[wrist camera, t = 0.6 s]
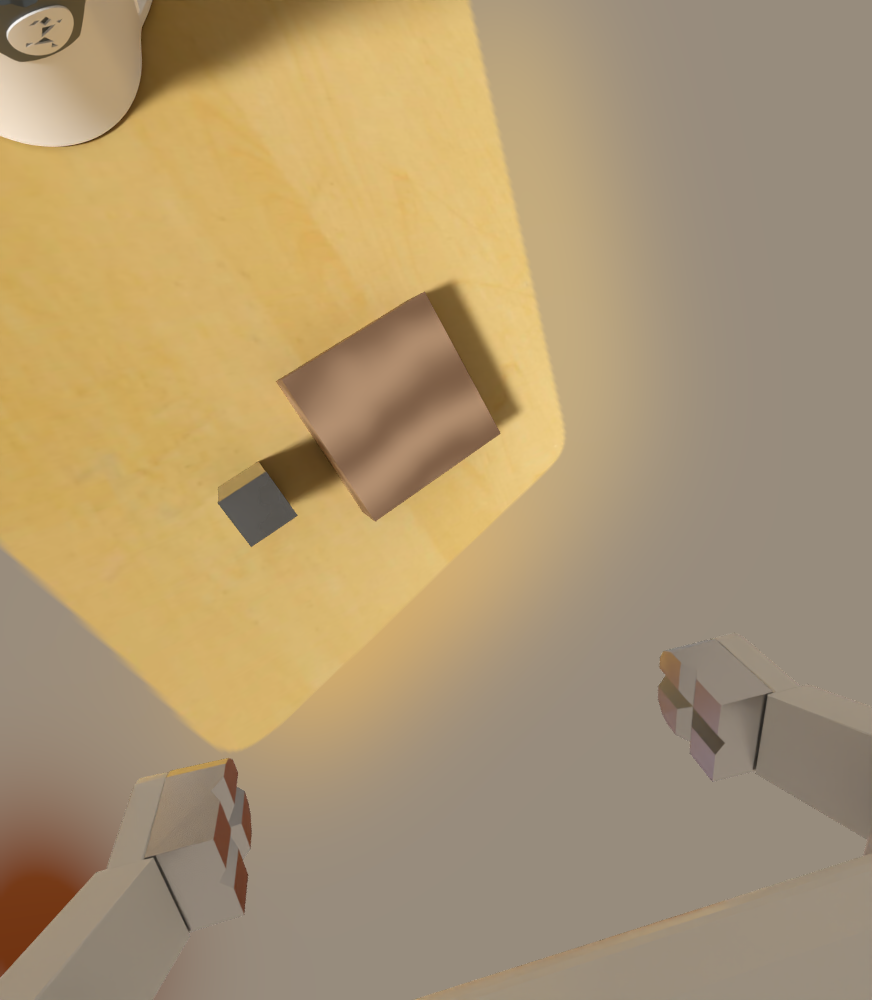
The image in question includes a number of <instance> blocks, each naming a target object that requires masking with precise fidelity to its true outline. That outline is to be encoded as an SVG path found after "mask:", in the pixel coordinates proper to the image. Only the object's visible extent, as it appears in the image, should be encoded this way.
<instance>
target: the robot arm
mask: <svg viewBox="0 0 872 1000" xmlns="http://www.w3.org/2000/svg"><path fill="white" fill-rule="evenodd" d="M151 4H152V0H0V136H2V137H5V138H8V139H11V140H14V141H18V142H21V143H26V144H31V145H37V146H50V147H55V146H69V145H75V144H79V143H83V142H86V141H89V140H91V139H94V138H96V137H98V136H100V135H102V134H104V133H105V132H107V131H108V130H110V129H111V128H112V127H113V126H115V125H116V124H117V123H118V122H119V121H120V120H121V119H122V117H123V116H124V115H125V114H126V112H127V111H128V109H129V108H130V106H131V104H132V102H133V100H134V98H135V96H136V93H137V90H138V87H139V83H140V78H141V69H142V52H141V30H142V26H143V24H144V21H145V19H146V17H147V14H148V12H149V9H150V7H151ZM659 668H660V669H661V671H662V672H663V673H664V674H665V677H664V678H663V680H662V681H661V683H660V684H659V685H658V702H659V705H660V709H661V712H662V715H663V717H664V719H665V721H666V722H667V724H668V726H669V727H670V728H671V729H672V731H673V732H674V734H675V735H677V736H679V737H681V738H683V739H685V740H687V741H689V742H690V754H691V755H692V757H693V758H694V759H695V761H696V762H697V763H698V764H699V766H700V767H701V768H702V769H703V771H704V772H705V773H706V774H707V776H708V777H709V778H710V780H711V781H712V782H714V781H718V780H722V779H726V778H730V777H734V776H738V775H742V774H746V773H750V772H754V771H756V773H755V774H757V775H759V776H760V777H762V778H764V779H765V780H767V781H769V782H770V783H772V784H774V785H776V786H777V787H779V788H781V789H782V790H784V791H786V792H787V793H789V794H791V795H792V796H794V797H796V798H797V799H799V800H801V801H803V802H804V803H806V804H808V805H809V806H811V807H813V808H814V809H816V810H818V811H819V812H821V813H823V814H824V815H826V816H828V817H829V818H831V819H833V820H835V821H836V822H838V823H840V824H841V825H843V826H845V827H847V828H848V829H850V830H851V831H853V832H855V833H856V834H858V835H860V836H862V837H863V838H865V839H867V843H866V847H865V851H864V854H863V856H862V857H859V858H856V859H853V860H850V861H846V862H843V863H840V864H837V865H834V866H831V867H828V868H824V869H821V870H818V871H815V872H812V873H809V874H806V875H803V876H799V877H796V878H793V879H790V880H787V881H784V882H780V883H777V884H774V885H771V886H768V887H765V888H762V889H759V890H755V891H753V892H749V893H746V894H743V895H740V896H737V897H734V898H730V899H727V900H724V901H721V902H718V903H715V904H712V905H708V906H706V907H703V908H699V909H696V910H693V911H690V912H687V913H684V914H680V915H677V916H674V917H671V918H668V919H665V920H662V921H659V922H655V923H653V924H649V925H646V926H643V927H640V928H637V929H633V930H631V931H627V932H624V933H621V934H618V935H615V936H612V937H609V938H605V939H602V940H599V941H596V942H593V943H590V944H586V945H583V946H580V947H577V948H574V949H571V950H568V951H565V952H561V953H558V954H555V955H552V956H549V957H546V958H543V959H539V960H536V961H533V962H530V963H527V964H524V965H521V966H517V967H514V968H511V969H508V970H505V971H502V972H499V973H496V974H492V975H490V976H486V977H483V978H480V979H477V980H474V981H470V982H467V983H464V984H461V985H458V986H455V987H452V988H449V989H445V990H442V991H439V992H436V993H433V994H430V995H427V996H423V997H420V998H417V999H414V1000H872V707H871V706H868V705H865V704H863V703H860V702H857V701H854V700H851V699H849V698H846V697H843V696H840V695H837V694H835V693H832V692H829V691H826V690H823V689H820V688H818V687H815V686H812V685H809V684H807V685H802V686H800V685H799V684H798V683H797V682H796V681H794V680H793V679H792V678H791V677H790V676H789V675H787V674H786V673H785V672H784V671H782V670H781V669H780V668H779V667H778V666H777V665H776V664H774V663H773V662H772V661H771V660H770V659H768V658H767V657H766V656H765V655H764V654H763V653H762V652H760V651H759V650H758V649H757V648H755V647H754V646H753V645H752V644H751V643H750V642H749V641H747V640H746V639H745V638H744V637H743V636H741V635H739V634H736V633H731V634H727V635H724V636H720V637H715V638H712V639H710V640H704V641H701V642H697V643H693V644H689V645H686V646H681V647H677V648H673V649H669V650H665V651H663V652H662V654H661V656H660V663H659ZM237 778H238V771H237V769H236V766H235V764H234V761H233V759H230V758H226V759H222V760H218V761H213V762H208V763H204V764H199V765H195V766H190V767H186V768H181V769H176V770H172V771H170V772H167V773H161V774H157V775H152V776H148V777H143V778H140V779H139V780H138V781H137V783H136V784H135V785H134V787H133V790H132V792H131V795H130V798H129V801H128V804H127V807H126V811H125V813H124V817H123V820H122V823H121V826H120V829H119V832H118V835H117V838H116V841H115V844H114V847H113V850H112V853H111V856H110V860H109V863H108V865H107V868H106V870H104V871H100V872H96V873H95V874H94V875H93V877H92V878H91V879H90V880H89V881H88V882H87V883H86V884H85V885H84V887H83V888H82V889H81V890H80V891H79V892H78V893H77V894H76V895H75V896H74V898H73V899H72V900H71V901H70V902H69V903H68V904H67V905H66V906H65V907H64V909H63V910H62V911H61V912H60V913H59V914H58V915H57V916H56V917H55V918H54V920H53V921H52V922H51V923H50V924H49V925H48V926H47V927H46V928H45V929H44V931H43V932H42V933H41V934H40V935H39V936H38V937H37V938H36V939H35V940H34V942H33V943H32V944H31V945H30V946H29V947H28V948H27V949H26V950H25V952H24V953H23V954H22V955H21V956H20V957H19V958H18V959H17V960H16V962H15V963H14V964H13V965H12V966H11V967H10V968H9V969H8V970H7V971H6V972H5V973H4V975H3V976H2V977H1V978H0V1000H153V999H154V997H155V995H156V994H157V992H158V990H159V988H160V987H161V985H162V983H163V982H164V980H165V978H166V977H167V975H168V973H169V971H170V969H171V968H172V966H173V964H174V963H175V961H176V959H177V958H178V956H179V954H180V952H181V951H182V949H183V947H184V946H185V944H186V942H187V941H188V939H189V937H190V934H189V933H190V932H192V931H196V930H199V929H202V928H205V927H209V926H212V925H214V924H218V923H221V922H224V921H227V920H231V919H234V918H237V917H240V916H243V915H244V913H245V903H246V893H247V882H248V873H247V870H246V867H245V865H244V862H243V859H244V858H245V856H246V855H247V854H248V852H249V851H250V849H251V837H252V828H251V813H250V808H249V803H248V799H247V796H246V793H245V791H244V790H242V789H240V788H238V787H237Z"/></svg>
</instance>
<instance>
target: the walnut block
mask: <svg viewBox="0 0 872 1000" xmlns="http://www.w3.org/2000/svg"><path fill="white" fill-rule="evenodd" d="M276 382H277V383H278V385H279V387H280V388H281V390H282V391H283V393H284V394H285V396H286V397H287V399H288V400H289V402H290V403H291V405H292V406H293V408H294V409H295V411H296V412H297V414H298V415H299V417H300V418H301V420H302V421H303V423H304V424H305V426H306V427H307V429H308V430H309V432H310V433H311V435H312V436H313V438H314V439H315V441H316V442H317V444H318V445H319V447H320V448H321V450H322V451H323V453H324V454H325V456H326V457H327V459H328V460H329V462H330V463H331V465H332V466H333V468H334V469H335V471H336V472H337V474H338V475H339V477H340V478H341V480H342V481H343V483H344V484H345V486H346V487H347V489H348V490H349V492H350V493H351V495H352V496H353V498H354V499H355V501H356V502H357V504H358V506H359V507H360V509H361V510H362V512H364V513H365V514H366V515H367V516H369V517H370V518H371V519H373V520H374V521H376V520H378V519H379V518H381V517H382V516H384V515H385V514H386V513H388V512H389V511H391V510H392V509H394V508H395V507H396V506H398V505H399V504H401V503H402V502H404V501H405V500H406V499H408V498H409V497H411V496H412V495H414V494H415V493H416V492H418V491H419V490H421V489H422V488H424V487H425V486H426V485H428V484H429V483H431V482H432V481H434V480H435V479H436V478H438V477H439V476H441V475H442V474H443V473H445V472H446V471H448V470H449V469H451V468H452V467H453V466H455V465H456V464H458V463H459V462H461V461H462V460H463V459H465V458H466V457H468V456H469V455H471V454H472V453H473V452H475V451H476V450H478V449H479V448H481V447H482V446H483V445H485V444H486V443H488V442H489V441H491V440H492V439H493V438H495V437H496V436H498V435H499V434H501V433H500V431H499V430H498V428H497V426H496V424H495V422H494V420H493V418H492V417H491V415H490V413H489V411H488V409H487V407H486V405H485V403H484V402H483V400H482V398H481V396H480V394H479V392H478V390H477V389H476V387H475V385H474V383H473V381H472V379H471V377H470V375H469V374H468V372H467V370H466V368H465V366H464V364H463V362H462V361H461V359H460V357H459V355H458V353H457V351H456V349H455V347H454V346H453V344H452V342H451V340H450V338H449V336H448V334H447V333H446V331H445V329H444V327H443V325H442V323H441V321H440V319H439V318H438V316H437V314H436V312H435V310H434V308H433V306H432V305H431V303H430V301H429V299H428V297H427V295H426V293H425V292H423V293H421V294H419V295H417V296H415V297H413V298H411V299H409V300H407V301H406V302H404V303H403V304H401V305H399V306H398V307H396V308H394V309H393V310H391V311H390V312H388V313H386V314H385V315H383V316H381V317H380V318H378V319H377V320H375V321H373V322H372V323H370V324H368V325H367V326H365V327H364V328H362V329H360V330H359V331H357V332H355V333H354V334H352V335H351V336H349V337H347V338H346V339H344V340H342V341H341V342H339V343H337V344H336V345H334V346H333V347H331V348H329V349H328V350H326V351H324V352H323V353H321V354H320V355H318V356H316V357H315V358H313V359H311V360H310V361H308V362H307V363H305V364H303V365H302V366H300V367H298V368H297V369H295V370H294V371H292V372H290V373H289V374H287V375H285V376H284V377H282V378H281V379H279V380H277V381H276Z"/></svg>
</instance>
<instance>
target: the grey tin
mask: <svg viewBox="0 0 872 1000" xmlns="http://www.w3.org/2000/svg"><path fill="white" fill-rule="evenodd" d="M218 499H219V501H218V504H219V505H220V507H221V508H222V509H223V511H224V512H225V513H226V515H227V516H228V517H229V518H230V520H231V521H232V522H233V524H234V525H235V526H236V528H237V529H238V530H239V532H240V533H241V534H242V536H243V537H244V538H245V539H246V541H247V542H248V543H249V545H250V546H251V547H252V546H253V545H255V544H256V543H258V542H259V541H261V540H262V539H264V538H265V537H267V536H268V535H270V534H271V533H273V532H274V531H276V530H277V529H279V528H280V527H282V526H283V525H284V524H286V523H287V522H289V521H290V520H292V519H293V518H295V517H296V516H298V515H297V514H296V513H295V511H294V510H293V508H292V507H291V506H290V504H289V503H288V501H287V500H286V499H285V497H284V496H283V494H282V493H281V492H280V490H279V489H278V487H277V486H276V485H275V483H274V482H273V480H272V479H271V478H270V476H269V475H268V473H267V472H266V471H265V470H264V469H263V467H262V466H261V464H260V463H259V462H257V463H255V464H254V465H252V466H251V467H249V468H247V469H246V470H244V471H243V472H241V473H240V474H238V475H237V476H235V477H233V478H232V479H230V480H229V481H227V482H226V483H224V484H223V485H221V486H219V487H218Z"/></svg>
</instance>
